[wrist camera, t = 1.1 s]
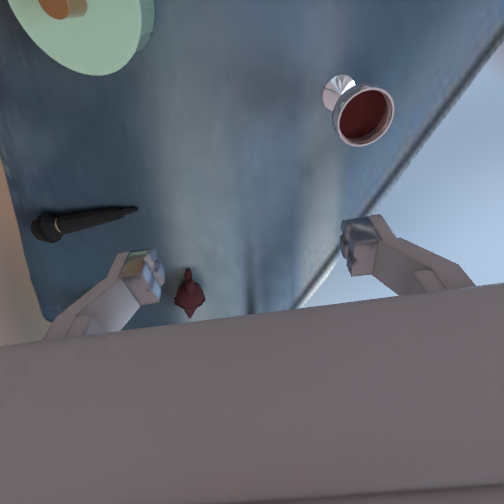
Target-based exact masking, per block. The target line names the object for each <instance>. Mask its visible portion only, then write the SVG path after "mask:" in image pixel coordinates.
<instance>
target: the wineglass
mask: <svg viewBox="0 0 504 504" xmlns="http://www.w3.org/2000/svg"><path fill="white" fill-rule="evenodd" d="M323 103H324V105H325V106H326V108H327V109H329V110H331V111H333V113H332V124H333V126H334V129H335V131H336V133H337V134H338V135H339V136H340V137H341V138H342V140H343V141H344V142H345V143H347V144H349V145H351V146H359V147H361V146H365V145H369V144H371V143H373V142H375V141H376V140H378V139H379V138H380V137H381V136H382V135H383V134H384V133H385V132H386V131H387V129H388V128H389V126H390V124H391V122H392V119H393V117H394V103H393V99H392V98H391V96H390V95H389V94H388V92H386V91H384V90H383V89H382V88H381V87H379V86H377V85H376V84H372V83H360V84H356V85H355V83H354V81H353V79H352V78H351V77H349V76H347V75H338V76H335V77H334V78H332V79H331V80H330V81H329V82H328V83H327V84H326V86H325V88H324V91H323Z"/></svg>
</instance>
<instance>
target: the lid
mask: <svg viewBox="0 0 504 504" xmlns="http://www.w3.org/2000/svg"><path fill="white" fill-rule="evenodd" d="M8 2H9V4H10V7H11V9H12V10H13V12H14V14H15V16H16V18H17V19H18V21H19V22H20V24H21V26H22V27H23V28H24V30H25V31H26V32H27V34H28V35H29V36H30V37H31V39H32V40H33V41H34V42H35V43H36V44H37V45H38V46H39V47H40V48H41V49H42V50H43V51H44V52H45V53H46V54H48V55H49V56H50V57H51V58H53V59H54V60H55V61H57V62H58V63H60V64H61V65H63V66H65V67H67V68H69V69H71V70H74V71H76V72H79V73H83V74H86V75H94V76H96V75H107V74H111V73H113V72H116V71H118V70H119V69H121V68H122V67H124V66H125V65H126V64H127V63H128V62H129V61H130V60H131V59H132V57H133V55H134V54H135V52H136V50H137V47H138V45H139V41H140V37H141V31H142V11H141V3H140V0H8Z"/></svg>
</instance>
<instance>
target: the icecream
mask: <svg viewBox="0 0 504 504" xmlns="http://www.w3.org/2000/svg"><path fill="white" fill-rule="evenodd" d="M184 277H185V281H186V283H184V284H183V285H181V286H180V287H179V288H178V291H177V294H176V297H175V298H174V300H175V302H174V303H175V305H177V306H179V307H181V308H183V309H184V310H185V312H186V314H187V316H188V317H189V318H191V317H192V315H193V313H194V312H195V310H196V308H197V307H199V306H201V305H202V304H203V302H204V301H205V295H204V294H203V290H202V289H201V287H200V285H199V284H198V283H194V281H193V280H192V272H191V269H186V271H185V275H184Z"/></svg>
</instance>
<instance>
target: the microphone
mask: <svg viewBox="0 0 504 504" xmlns="http://www.w3.org/2000/svg"><path fill="white" fill-rule="evenodd" d="M135 211H138V208H137V207H134V208H124V209H121V208H120V207H119V208H116V207H115V208H109V209H103V210H97V211H90V212H84V213H78V214H72V215H66V216H60V217H58V218H57V217H55V216H53V215H51V214H48V213H45V214H42V215H40V216H38V218H37V219H35V220H33V221H32V224H31V232H32V234H33V235H34V236H35V237H36V238H37V239H38V240H41V241H45V242H50V243H55V242H57V241H58V240H60V239H61V237H62V236H63V234H68V233H71V232H75V231H78V230H82V229H85V228H89V227H93V226H96V225H100V224H103V223H107V222H110V221H114V220H118V219H119V218H122V217H124V215H127V214H130V213H132V212H135Z"/></svg>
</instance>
